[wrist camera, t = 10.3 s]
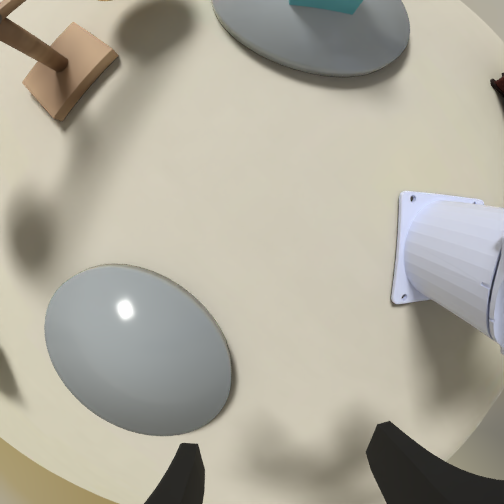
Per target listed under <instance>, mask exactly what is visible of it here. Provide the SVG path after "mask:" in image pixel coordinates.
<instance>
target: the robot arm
mask: <svg viewBox="0 0 504 504" xmlns="http://www.w3.org/2000/svg"><path fill="white" fill-rule="evenodd" d="M411 196H412V197H413V201H412V202H411V200H410V197H411ZM404 294H405V295H404ZM403 295H404V297H403V298H402V296H403ZM431 299H432V300H433V301H435V302H436V303H438V304H440V305H441V306H443V307H444V308H446V309H447V310H449V311H450V312H452V313H454V314H455V315H457V316H458V317H460V318H461V319H463V320H464V321H466V322H467V323H469V324H470V325H472V326H473V327H475V328H476V329H478V330H479V331H481V332H482V333H484V334H485V335H487V336H488V337H489V338H491V339H492V340H494V341H495V342H497V343H498V344H499V345H500V346H501V354H503V355H504V208H500V207H493V206H486V205H484V202H483V200H480V199H473V198H466V197H458V196H450V195H442V194H433V193H423V192H413V191H403V192H401V193H400V196H399V219H398V237H397V251H396V261H395V271H394V280H393V287H392V295H391V300H392V302H394V303H395V304H403V303H411V302H418V301H424V300H431ZM366 454H367V458H368V461H369V465H370V468H371V471H372V473H373V475H374V477H375V480H376V482H377V484H378V486H379V488H380V490H381V492H382V494H383V496H384V499H385V501H386V503H387V504H504V480H496V479H491V478H486V477H482V476H478V475H475V474H472V473H469V472H466V471H464V470H461V469H459V468H457V467H455V466H453V465H451V464H449V463H447V462H445V461H443V460H442V459H440V458H438V457H437V456H435V455H433V454H432V453H430V452H429V451H427V450H426V449H425V448H423V447H422V446H420V445H419V444H418V443H416V442H415V441H414V440H413V439H411V438H410V437H409V436H407V435H406V434H405V433H404V432H403V431H401V430H400V429H399V428H398V427H396V426H395V425H394V424H393V423H391V422H390V421H388V422H384V423H381V424H377V426H376V429H375V431H374V434H373V436H372V439H371V441H370V443H369V446H368V448H367V450H366ZM204 484H205V469H204V465H203V461H202V458H201V454H200V450H199V446H198V444H191V443H182V444H180V446H179V448H178V451H177V453H176V455H175V457H174V459H173V461H172V463H171V464H170V466H169V468H168V470H167V471H166V473H165V475H164V476H163V478H162V479H161V481H160V483H159V484H158V486H157V487H156V489H155V490H154V491H153V493H152V494H151V495H150V497H149V498H148V499H147V501H146V502H145V503H144V504H202V503H203V496H204Z"/></svg>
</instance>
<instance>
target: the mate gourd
mask: <svg viewBox="0 0 504 504" xmlns="http://www.w3.org/2000/svg"><path fill="white" fill-rule="evenodd" d="M490 82H491V86H492V87H493V88H495V89H496V90H497V91H498V92H499V93H500V94H501V95H502V96H503V97H504V73H502V77H501V78H500V79H499V80H497V81H496V80H494V79H491V80H490Z"/></svg>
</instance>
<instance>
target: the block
mask: <svg viewBox="0 0 504 504" xmlns="http://www.w3.org/2000/svg"><path fill="white" fill-rule="evenodd" d="M362 1H363V0H289V5H296V6H305V7H313V8H319V9H326V10H331V11H337V12H342V13H347V14H351V15H353V13H354V12H355V11H356V9H357V8H358V7H359V5H360V4H361V3H362Z"/></svg>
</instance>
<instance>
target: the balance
mask: <svg viewBox="0 0 504 504" xmlns="http://www.w3.org/2000/svg"><path fill="white" fill-rule="evenodd" d="M25 1H26V0H3V1H2V2H1V3H0V41H2V42H4V43H6V44H8V45H9V46H11V47H13V48H15V49H17V50H19V51H21V52H22V53H24V54H26V55H28V56H30V57H31V58H33V59H35V60H37V61H38V62H37V63H36V64H35V66H34V67H33V68H32V70H31V71H30V72H29V74H28V75H27V76H26V78H25V79H24V81H23V82H22V83H23V84H24V85H25V86H26V88H27V89H28V90H29V91H30V92H31V93H32V95H33V96H34V97H35V98H36V99H37V100H38V101H39V103H40V104H41V105H42V106H43V107H44V108H45V109H46V111H47V112H48V113H49V114H50V115H51V116H52V117H53V118H54V119H57V120H60V121H63V120H64V118H65V117H66V116H67V114H68V113H69V112H70V110H71V109H72V108H73V106H74V105H75V104H76V103H77V101H78V100H79V99H80V98H81V96H82V95H83V94H84V93H85V92H86V90H87V89H88V88H89V87H90V86H91V85H92V83H93V82H94V81H95V80H96V79H97V78H98V77H99V76H100V75H101V73H102V72H103V71H104V70H105V69H106V68H107V67H108V66H109V65H110V64H111V63H112V62H113V61H114V60H115V59H116V58H117V57H118V56H119V55H118V54H117V53H116V52H115V51H114V50H113V49H112V48H111V47H109V46H108V45H107V44H105V43H104V42H102V41H101V40H99V39H98V38H97V37H95V36H94V35H92V34H91V33H89V32H88V31H86V30H85V29H83V28H82V27H80V26H79V25H77V24H76V23H74V22H72V23H71V24H70V25H69V26H68V27H67V28H66V29H65V31H64V32H63V33H62V34H61V35H60V36H59V37H58V38H57V39H56V40H55V41H54V43H53V44H52V45H51V46H49V45H47V44H46V43H44V42H43V41H41V40H40V39H38V38H37V37H35V36H34V35H32V34H31V33H29V32H28V31H26V30H25V29H23V28H22V27H20V26H18V25H17V24H15V23H14V22H12V21H11V20H9V19H7V18H6V17H7V16H8V15H9V14H10V13H11V12H12V11H14V10H15V9H16V8H17V7H18V6H20V5H21V4H22V3H23V2H25ZM99 1H111V0H99Z"/></svg>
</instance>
